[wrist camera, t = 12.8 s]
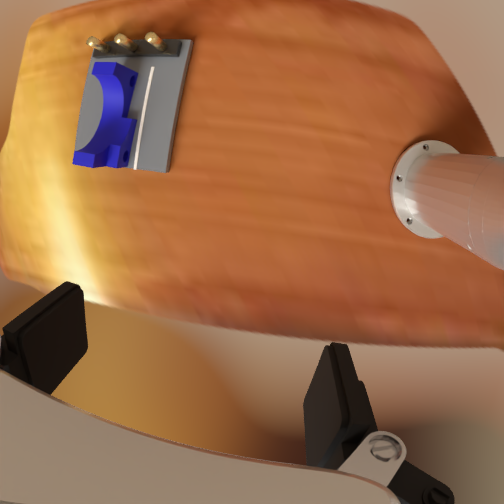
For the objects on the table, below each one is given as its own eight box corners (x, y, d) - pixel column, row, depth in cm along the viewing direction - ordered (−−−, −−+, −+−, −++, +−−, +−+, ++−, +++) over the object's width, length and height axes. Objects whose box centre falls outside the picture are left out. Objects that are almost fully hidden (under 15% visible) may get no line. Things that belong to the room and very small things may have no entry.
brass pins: (182, 42, 31) (168, 28, 26) (178, 57, 31) (164, 44, 26) (100, 45, 31) (79, 35, 26) (96, 58, 32) (75, 49, 27)
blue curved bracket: (127, 166, 36) (103, 170, 30) (98, 161, 36) (72, 164, 30) (149, 74, 32) (128, 62, 26) (118, 72, 32) (94, 61, 26)
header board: (193, 42, 32) (190, 39, 30) (168, 173, 37) (165, 173, 36) (99, 45, 32) (94, 42, 31) (78, 162, 37) (72, 162, 36)
